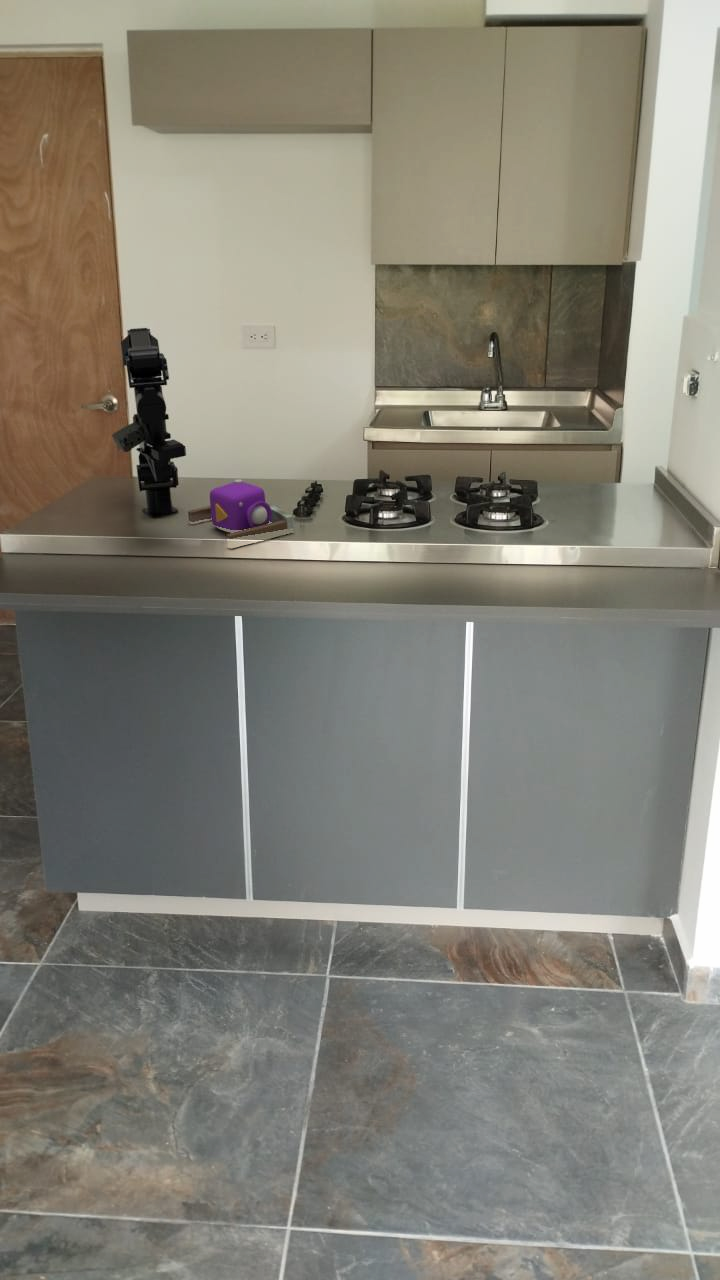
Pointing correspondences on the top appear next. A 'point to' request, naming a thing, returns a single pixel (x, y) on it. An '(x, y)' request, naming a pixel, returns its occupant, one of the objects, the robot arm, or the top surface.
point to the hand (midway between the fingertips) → (158, 481)
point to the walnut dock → (278, 520)
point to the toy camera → (239, 506)
